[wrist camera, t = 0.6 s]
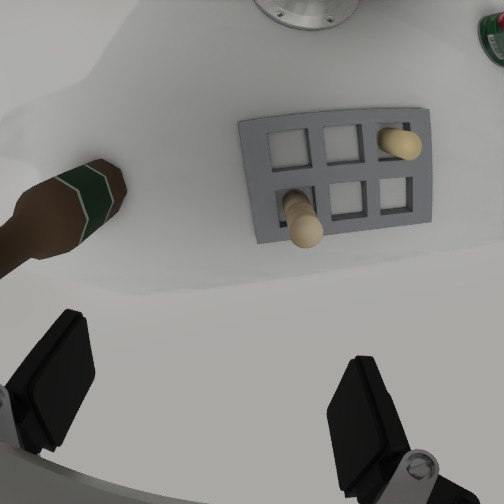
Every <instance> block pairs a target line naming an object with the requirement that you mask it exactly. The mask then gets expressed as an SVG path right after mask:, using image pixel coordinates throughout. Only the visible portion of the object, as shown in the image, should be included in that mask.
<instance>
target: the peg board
mask: <svg viewBox="0 0 504 504" xmlns="http://www.w3.org/2000/svg"><path fill="white" fill-rule="evenodd" d="M399 122H403V127H404V130H399V129H393V128H383V129H382V130H380V131H379V133H378V135H377V137H376V126H375V123H399ZM352 124H357V133H358V143H359V154H360V160H356V161H345V162H334V163H327V160H326V151H325V142H324V133H323V127H325V126H337V125H352ZM238 126H239V132H240V138H241V145H242V151H243V157H244V163H245V169H246V175H247V182H248V188H249V194H250V200H251V207H252V213H253V219H254V225H255V232H256V238H257V244H262V243H269V242H277V241H285V240H291V238H290V234H289V229H288V225H287V221H284V222H279V217H278V210H277V202H276V195H275V190H283V189H291V188H299V187H307V186H312V188H313V198H314V208H315V213H316V215H317V217H318V219H319V221H320V223H321V225H322V227H323V236H324V235H332V234H339V233H347V232H355V231H363V230H371V229H379V228H387V227H395V226H404V225H412V224H420V223H428V222H431V221H432V141H431V124H430V112H429V109H419V108H390V109H358V110H340V111H326V112H314V113H303V114H293V115H284V116H276V117H268V118H261V119H254V120H247V121H240V122H238ZM304 128H306V136H307V144H308V152H309V160H310V165H306V166H297V167H289V168H281V169H273V170H272V166H271V159H270V152H269V145H268V139H267V133H270V132H277V131H286V130H294V129H304ZM377 144H378V146H379V148H380V149H381V150H382V151H384V152H387V153H390V154H392V155H395V156H397V157H399V158H383V159H378V150H377ZM399 177H406V207H403V208H394V209H385V210H380V185H379V179H387V178H399ZM354 181H361V183H362V202H363V212H358V213H349V214H341V215H332V216H331V205H330V192H329V184H334V183H344V182H354Z"/></svg>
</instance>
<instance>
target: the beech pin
mask: <svg viewBox="0 0 504 504" xmlns="http://www.w3.org/2000/svg"><path fill="white" fill-rule="evenodd" d="M282 203H283V208H284V212H285V216H286V221H287V225H288V229H289V234H290V238H291V240H292V242H293V243H294V244H295V245H296V246H298V247H300V248H311V247H314V246H315V245H317V244H318V243H319V242H320V241H321V239H322V237H323V227H322V225H321V223H320V221H319V219H318V217H317V215H316V213H315V211H314V209H313V208H312V206H311V204H310V202H309V200H308V198H307V196H306V195H305V194H304V193H303V192H302V191H300V190H291V191H289V192H287V193H286V194H285V196H284V197H283V202H282Z"/></svg>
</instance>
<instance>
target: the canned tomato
mask: <svg viewBox="0 0 504 504" xmlns="http://www.w3.org/2000/svg"><path fill="white" fill-rule="evenodd" d="M478 35H479V40H480V43H481V45H482V48H483V49H484V51H485V53H486V54H487V56H488V57H489V58H490V59H491V60H492V61H493V62H494V63H495V64H497V65H498V66H501V67H504V12H502V13H497V14H493V15H490V16H485V17H483V18H482V19H481V20H480V22H479V25H478Z"/></svg>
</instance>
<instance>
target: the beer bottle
mask: <svg viewBox="0 0 504 504" xmlns="http://www.w3.org/2000/svg"><path fill="white" fill-rule="evenodd" d="M126 192H127V191H126V188H125V184H124V181H123V178H122V175H121V172H120V169H118V168H116V167H114V166H113V165H111V164H109V163H107V162H106V161H104V160H102V159H99V160H95V161H92V162H90V163H87V164H84V165H82V166H79V167H77V168H74V169H72V170H69V171H67V172H64V173H62V174H60V175H57V176H55V177H53V178H50V179H48V180H46V181H44V182H42V183H39V184H37V185H35V186H33V187H32V188H30V189H28V190H27V191H25V192H24V193H23V194H22V195H21V196H20V198H19V199H18V201H17V203H16V206H15V209H14V213H13V216H12V217H11V218H10V219H9V220H8V221H7V222H6V223H5V224H4V225H2V226H1V227H0V279H1V278H3V277H4V276H5V275H7V274H8V273H10V272H11V271H12V270H14V269H15V268H17V267H18V266H20V265H21V264H22V263H24V262H25V261H27V260H28V259H30V258H35V259H38V260H41V259H46V258H50V257H53V256H57V255H60V254H64V253H67V252H70V251H71V250H73V249H74V248H75V247H77V246H78V245H80V244H81V243H82V242H83V241H84V240H85V239H86V238H88V237H89V236H90V235H91V234H92V233H94V232H95V231H96V230H97V229H98V228H100V227H101V226H102V225H103V224H104V223H106V222H107V221H108V220H109V219H110V218H112V217H113V216H114V215H115V214H116V213H117V212H118V210H119V208H120V206H121V203H122V201H123V199H124V197H125V194H126Z"/></svg>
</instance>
